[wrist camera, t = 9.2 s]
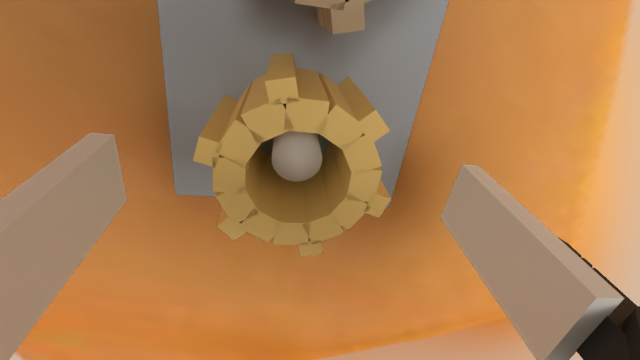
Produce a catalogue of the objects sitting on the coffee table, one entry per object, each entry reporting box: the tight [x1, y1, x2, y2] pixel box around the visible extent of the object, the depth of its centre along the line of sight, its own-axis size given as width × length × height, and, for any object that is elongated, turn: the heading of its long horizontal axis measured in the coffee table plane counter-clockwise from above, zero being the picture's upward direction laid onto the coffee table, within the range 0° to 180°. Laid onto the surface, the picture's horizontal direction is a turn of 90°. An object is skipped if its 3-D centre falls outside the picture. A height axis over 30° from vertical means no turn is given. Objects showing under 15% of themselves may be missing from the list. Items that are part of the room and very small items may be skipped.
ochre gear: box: [193, 52, 391, 257], centre depth 16 cm, size 8×8×6 cm
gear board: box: [157, 0, 449, 208], centre depth 14 cm, size 20×14×8 cm
